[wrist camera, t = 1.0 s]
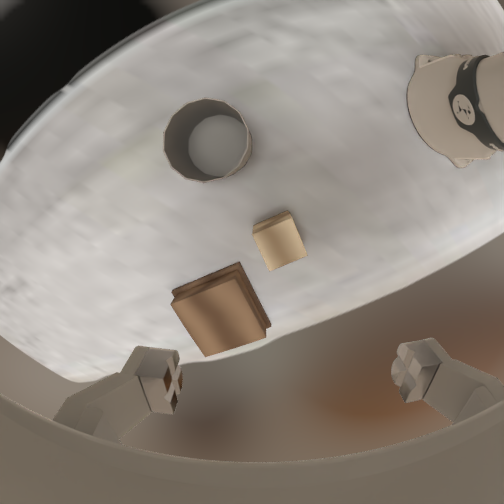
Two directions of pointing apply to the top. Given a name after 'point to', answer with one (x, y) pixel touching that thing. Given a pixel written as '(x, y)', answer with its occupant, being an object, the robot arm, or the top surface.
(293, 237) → the maple cube
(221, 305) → the walnut pedestal
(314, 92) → the top surface
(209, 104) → the cup
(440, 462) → the robot arm
